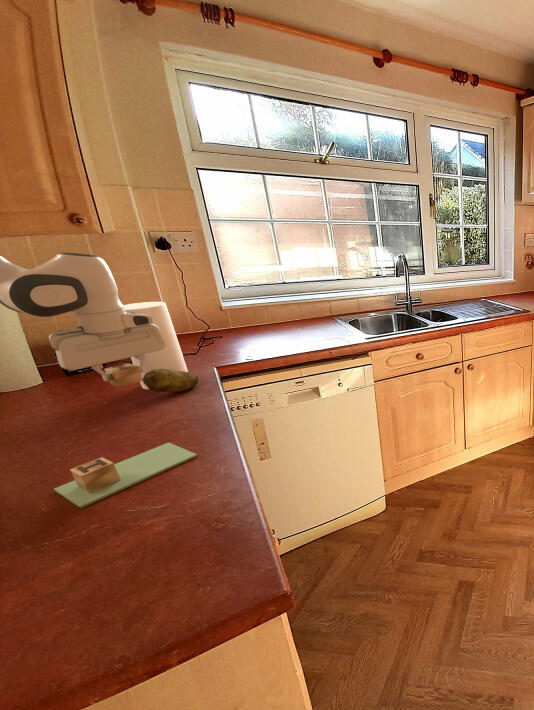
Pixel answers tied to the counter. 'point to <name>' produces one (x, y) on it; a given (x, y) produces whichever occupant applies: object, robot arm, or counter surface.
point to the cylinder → (172, 352)
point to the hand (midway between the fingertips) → (124, 376)
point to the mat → (130, 473)
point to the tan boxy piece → (124, 374)
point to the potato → (169, 380)
